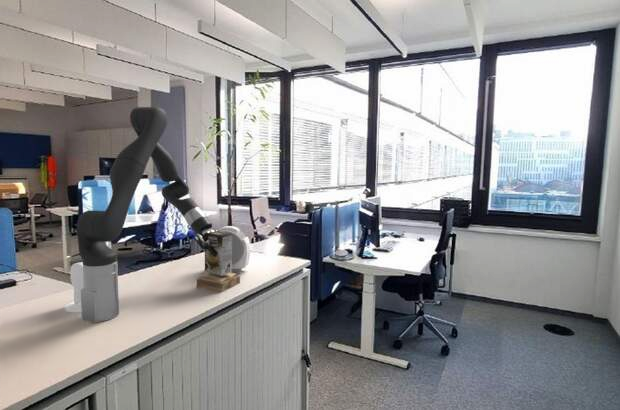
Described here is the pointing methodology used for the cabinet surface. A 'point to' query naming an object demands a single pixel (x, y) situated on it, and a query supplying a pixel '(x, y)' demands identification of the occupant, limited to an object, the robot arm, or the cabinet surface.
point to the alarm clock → (238, 248)
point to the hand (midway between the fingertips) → (221, 253)
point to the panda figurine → (76, 285)
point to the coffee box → (219, 253)
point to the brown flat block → (218, 281)
